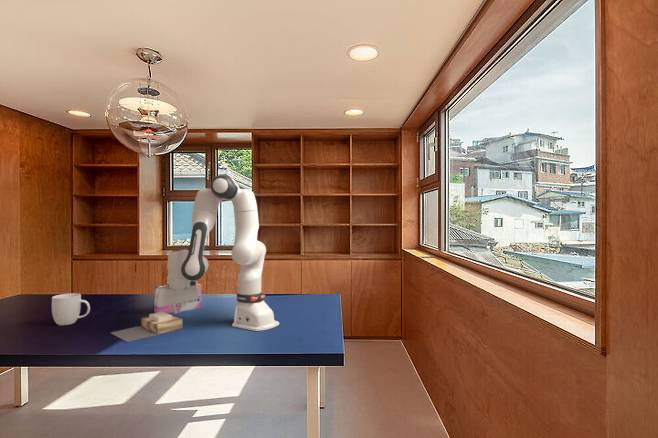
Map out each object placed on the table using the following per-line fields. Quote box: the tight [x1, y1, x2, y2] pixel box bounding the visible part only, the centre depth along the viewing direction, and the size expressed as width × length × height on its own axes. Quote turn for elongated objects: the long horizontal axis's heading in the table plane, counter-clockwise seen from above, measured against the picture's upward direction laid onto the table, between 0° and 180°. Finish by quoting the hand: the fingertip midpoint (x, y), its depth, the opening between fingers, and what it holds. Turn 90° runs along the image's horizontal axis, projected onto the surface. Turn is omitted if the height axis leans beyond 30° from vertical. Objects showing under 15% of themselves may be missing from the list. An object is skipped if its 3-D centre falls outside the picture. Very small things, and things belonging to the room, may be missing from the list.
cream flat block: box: [148, 312, 173, 322], centre depth 157 cm, size 9×6×2 cm, turn 51°
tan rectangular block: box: [140, 315, 183, 335], centre depth 157 cm, size 16×11×4 cm
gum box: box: [153, 281, 203, 314], centre depth 188 cm, size 24×8×14 cm, turn 125°
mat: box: [110, 325, 159, 344], centre depth 148 cm, size 18×12×1 cm, turn 51°
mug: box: [51, 292, 91, 326], centre depth 164 cm, size 15×11×13 cm
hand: (177, 312), depth 163 cm, fingers closed
